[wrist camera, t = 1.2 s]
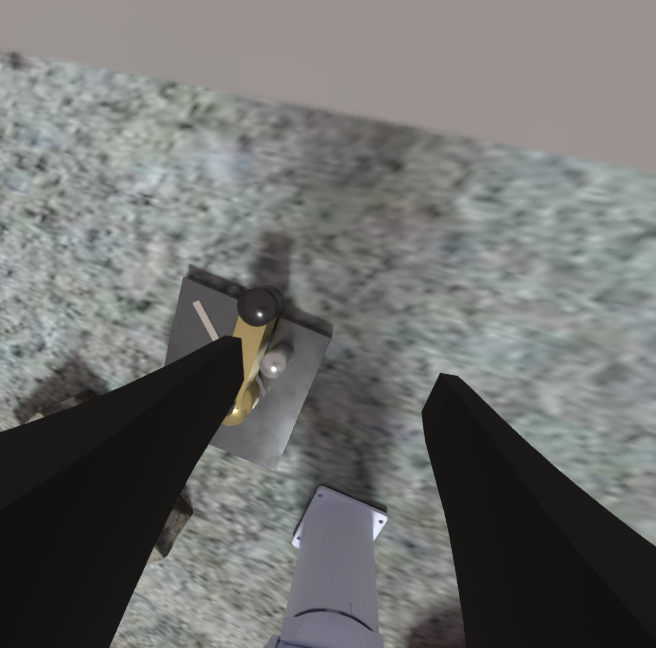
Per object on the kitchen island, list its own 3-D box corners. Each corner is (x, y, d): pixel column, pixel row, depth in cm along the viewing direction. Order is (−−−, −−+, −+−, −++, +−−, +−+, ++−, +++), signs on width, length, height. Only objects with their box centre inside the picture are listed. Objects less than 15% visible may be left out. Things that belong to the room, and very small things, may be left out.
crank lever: (253, 414, 23) (239, 435, 20) (215, 398, 23) (196, 417, 20) (295, 296, 20) (285, 301, 17) (251, 277, 20) (233, 280, 17)
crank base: (277, 464, 26) (263, 499, 22) (160, 414, 26) (126, 440, 22) (332, 335, 22) (326, 350, 18) (191, 276, 22) (155, 279, 18)
